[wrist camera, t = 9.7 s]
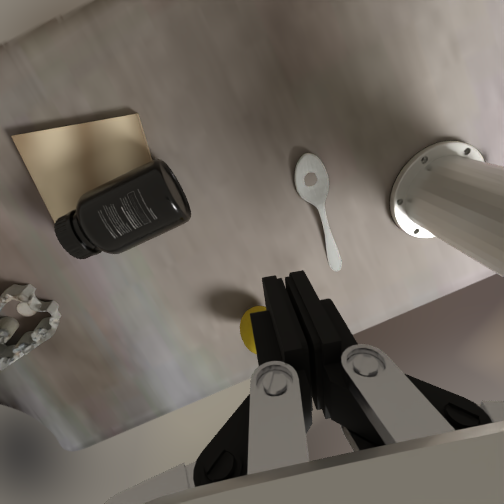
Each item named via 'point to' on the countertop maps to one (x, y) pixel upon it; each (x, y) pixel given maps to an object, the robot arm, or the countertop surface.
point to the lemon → (249, 328)
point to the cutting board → (81, 158)
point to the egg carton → (7, 326)
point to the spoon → (317, 199)
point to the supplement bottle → (124, 212)
